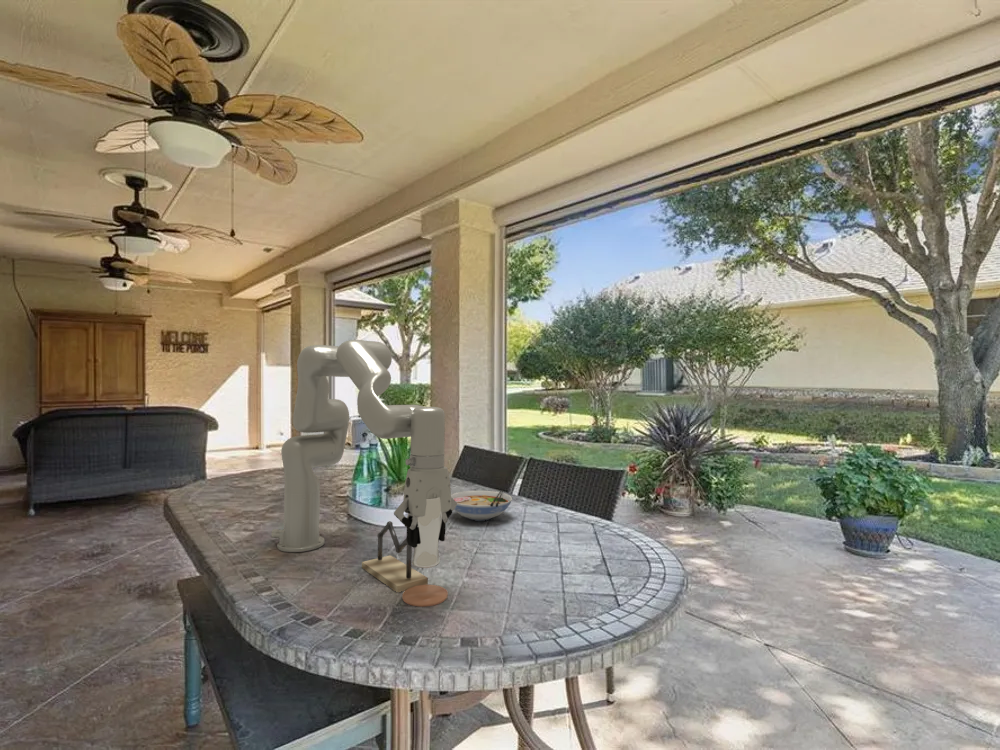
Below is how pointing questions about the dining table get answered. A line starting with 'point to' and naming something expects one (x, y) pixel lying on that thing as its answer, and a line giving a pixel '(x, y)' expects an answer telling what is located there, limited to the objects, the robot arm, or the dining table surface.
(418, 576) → the wire board
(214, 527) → the dining table surface
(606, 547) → the dining table surface
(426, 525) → the beer glass
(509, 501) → the ramen bowl
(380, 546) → the bent wire
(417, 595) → the terracotta coaster
